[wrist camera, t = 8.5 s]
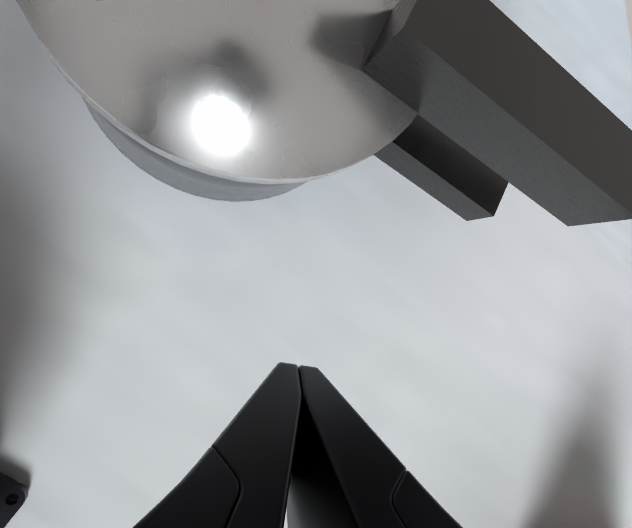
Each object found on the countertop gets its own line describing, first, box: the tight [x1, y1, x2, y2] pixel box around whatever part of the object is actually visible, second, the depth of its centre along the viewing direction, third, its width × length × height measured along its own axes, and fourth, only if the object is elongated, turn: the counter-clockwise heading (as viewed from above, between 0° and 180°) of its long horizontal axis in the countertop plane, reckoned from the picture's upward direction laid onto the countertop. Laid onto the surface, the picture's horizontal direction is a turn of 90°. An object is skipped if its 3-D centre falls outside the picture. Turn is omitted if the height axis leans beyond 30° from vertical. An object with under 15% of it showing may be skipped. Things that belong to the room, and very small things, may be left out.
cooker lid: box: [17, 0, 632, 226], centre depth 15 cm, size 25×16×4 cm, turn 61°
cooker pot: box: [82, 97, 508, 221], centre depth 19 cm, size 26×15×7 cm, turn 60°
